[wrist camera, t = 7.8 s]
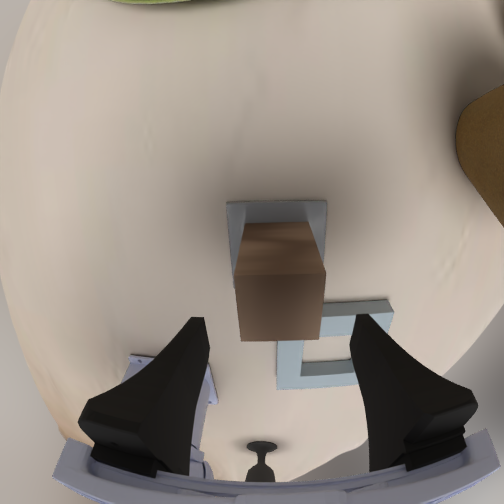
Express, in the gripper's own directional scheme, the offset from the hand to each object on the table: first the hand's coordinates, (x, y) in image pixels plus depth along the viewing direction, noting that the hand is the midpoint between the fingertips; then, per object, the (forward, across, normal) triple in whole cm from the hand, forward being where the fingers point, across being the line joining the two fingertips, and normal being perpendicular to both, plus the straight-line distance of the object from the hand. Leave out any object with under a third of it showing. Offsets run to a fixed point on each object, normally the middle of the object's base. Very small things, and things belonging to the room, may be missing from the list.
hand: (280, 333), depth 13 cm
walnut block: (+9, 0, 0) cm, 9 cm away
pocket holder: (+9, -5, +10) cm, 15 cm away
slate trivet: (+9, 0, 0) cm, 9 cm away
